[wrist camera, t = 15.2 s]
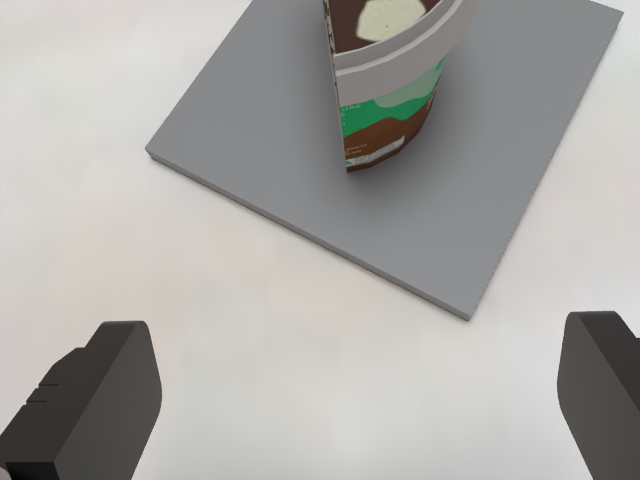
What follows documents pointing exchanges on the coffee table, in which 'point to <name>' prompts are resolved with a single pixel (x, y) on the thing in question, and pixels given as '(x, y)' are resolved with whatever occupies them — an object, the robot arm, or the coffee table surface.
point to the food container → (388, 68)
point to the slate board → (413, 160)
